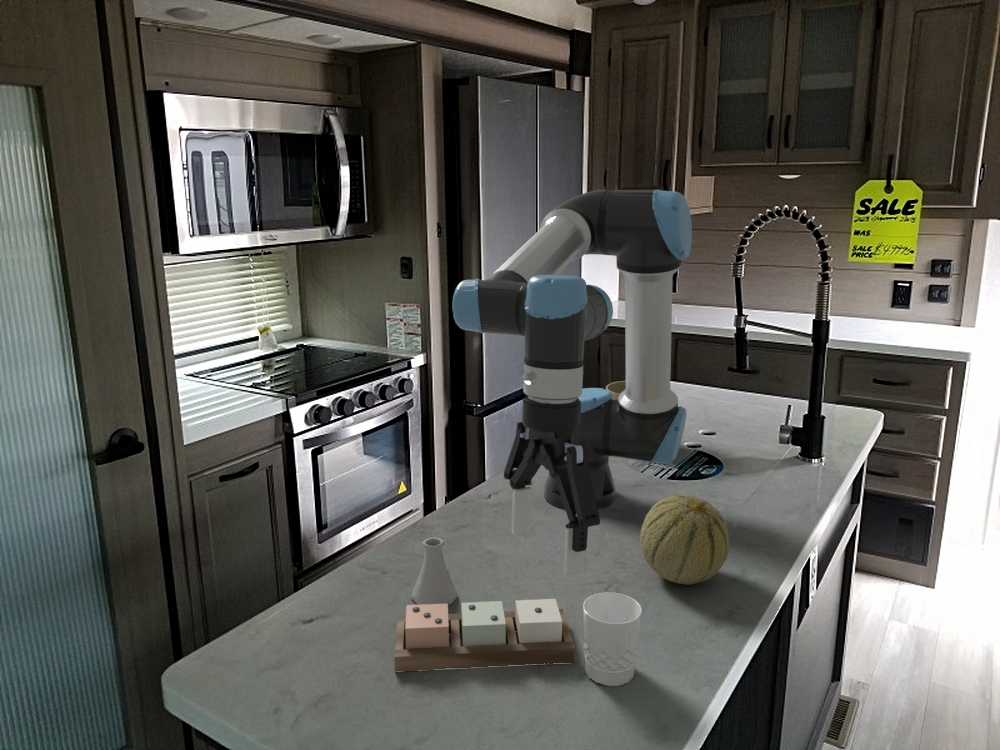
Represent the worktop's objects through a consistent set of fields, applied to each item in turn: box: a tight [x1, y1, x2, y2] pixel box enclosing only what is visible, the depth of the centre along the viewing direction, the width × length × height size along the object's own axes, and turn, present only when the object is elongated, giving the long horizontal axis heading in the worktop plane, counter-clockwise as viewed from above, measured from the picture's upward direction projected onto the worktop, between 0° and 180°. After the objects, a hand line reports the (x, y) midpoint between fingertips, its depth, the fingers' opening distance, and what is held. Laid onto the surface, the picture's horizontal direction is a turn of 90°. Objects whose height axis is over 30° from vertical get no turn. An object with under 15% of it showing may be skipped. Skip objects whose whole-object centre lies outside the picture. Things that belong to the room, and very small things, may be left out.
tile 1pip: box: [514, 598, 562, 644], centre depth 111 cm, size 6×6×3 cm
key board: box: [393, 608, 576, 673], centre depth 111 cm, size 10×25×2 cm, turn 95°
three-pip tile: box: [405, 603, 450, 649], centre depth 110 cm, size 6×6×3 cm
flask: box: [410, 536, 459, 606], centre depth 123 cm, size 7×7×10 cm
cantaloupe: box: [639, 493, 731, 586], centre depth 129 cm, size 15×15×15 cm
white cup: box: [582, 591, 643, 687], centre depth 105 cm, size 8×8×10 cm
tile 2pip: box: [460, 600, 506, 647], centre depth 111 cm, size 6×6×3 cm
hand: (545, 551), depth 103 cm, fingers open, 13 cm apart
